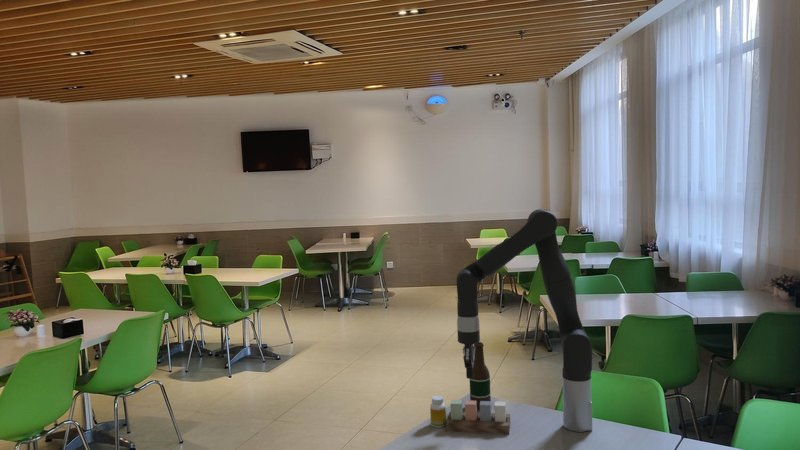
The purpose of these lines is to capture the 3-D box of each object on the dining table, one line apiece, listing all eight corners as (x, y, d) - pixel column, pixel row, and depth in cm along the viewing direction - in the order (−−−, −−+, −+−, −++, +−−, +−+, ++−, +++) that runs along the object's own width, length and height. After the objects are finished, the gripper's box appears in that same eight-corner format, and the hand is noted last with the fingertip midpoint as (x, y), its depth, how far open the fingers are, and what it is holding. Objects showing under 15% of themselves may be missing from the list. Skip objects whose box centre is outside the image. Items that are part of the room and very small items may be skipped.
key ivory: (506, 418, 210) (505, 401, 210) (505, 423, 207) (505, 405, 206) (495, 418, 211) (495, 401, 210) (494, 422, 207) (494, 405, 207)
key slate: (491, 418, 211) (491, 401, 211) (490, 422, 208) (490, 405, 207) (481, 417, 212) (480, 400, 211) (480, 421, 208) (479, 404, 208)
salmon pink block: (477, 417, 212) (476, 400, 212) (476, 421, 209) (475, 404, 208) (466, 417, 213) (466, 400, 212) (465, 421, 209) (464, 404, 209)
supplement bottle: (446, 427, 211) (445, 400, 210) (431, 428, 211) (430, 401, 210) (445, 421, 216) (444, 394, 215) (430, 421, 216) (429, 395, 215)
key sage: (462, 416, 213) (462, 400, 213) (461, 421, 210) (460, 404, 209) (452, 416, 214) (451, 399, 214) (451, 420, 211) (450, 403, 210)
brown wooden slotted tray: (510, 422, 213) (510, 413, 213) (509, 434, 203) (508, 425, 203) (450, 419, 218) (450, 411, 217) (446, 431, 208) (446, 422, 208)
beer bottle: (467, 408, 227) (465, 345, 225) (472, 400, 234) (470, 339, 232) (488, 410, 224) (486, 346, 222) (492, 402, 231) (491, 340, 229)
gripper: (477, 333, 201) (479, 384, 202) (481, 323, 214) (482, 371, 215) (454, 333, 202) (456, 384, 204) (459, 323, 215) (461, 371, 217)
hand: (469, 377), depth 210 cm, fingers closed
